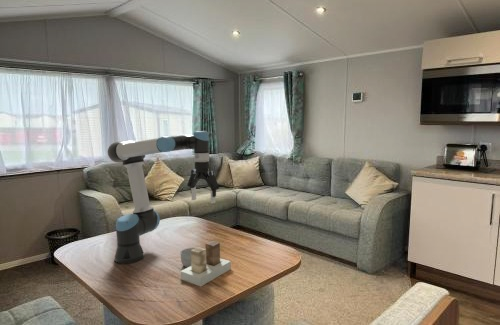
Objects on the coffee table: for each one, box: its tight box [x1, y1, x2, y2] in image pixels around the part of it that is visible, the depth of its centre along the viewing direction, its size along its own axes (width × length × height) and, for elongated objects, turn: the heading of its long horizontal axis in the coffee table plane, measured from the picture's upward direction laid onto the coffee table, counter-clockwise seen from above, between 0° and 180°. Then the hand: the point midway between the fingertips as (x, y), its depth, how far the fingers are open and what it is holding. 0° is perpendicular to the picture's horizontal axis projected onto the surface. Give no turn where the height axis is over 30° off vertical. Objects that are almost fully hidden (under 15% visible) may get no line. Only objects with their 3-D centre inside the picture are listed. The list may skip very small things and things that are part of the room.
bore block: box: [179, 257, 232, 287], centre depth 164 cm, size 13×22×4 cm, turn 145°
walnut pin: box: [204, 240, 221, 266], centre depth 168 cm, size 5×5×13 cm
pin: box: [191, 246, 207, 274], centre depth 160 cm, size 5×5×13 cm
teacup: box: [179, 247, 196, 268], centre depth 175 cm, size 14×11×8 cm
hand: (203, 201), depth 176 cm, fingers open, 13 cm apart
